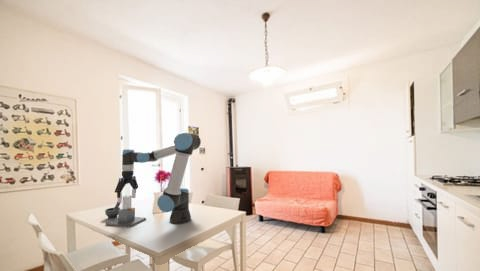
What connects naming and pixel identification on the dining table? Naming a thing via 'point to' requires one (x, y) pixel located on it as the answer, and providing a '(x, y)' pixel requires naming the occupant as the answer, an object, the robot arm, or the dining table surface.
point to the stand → (126, 219)
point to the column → (127, 202)
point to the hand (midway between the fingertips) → (126, 200)
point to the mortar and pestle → (113, 211)
